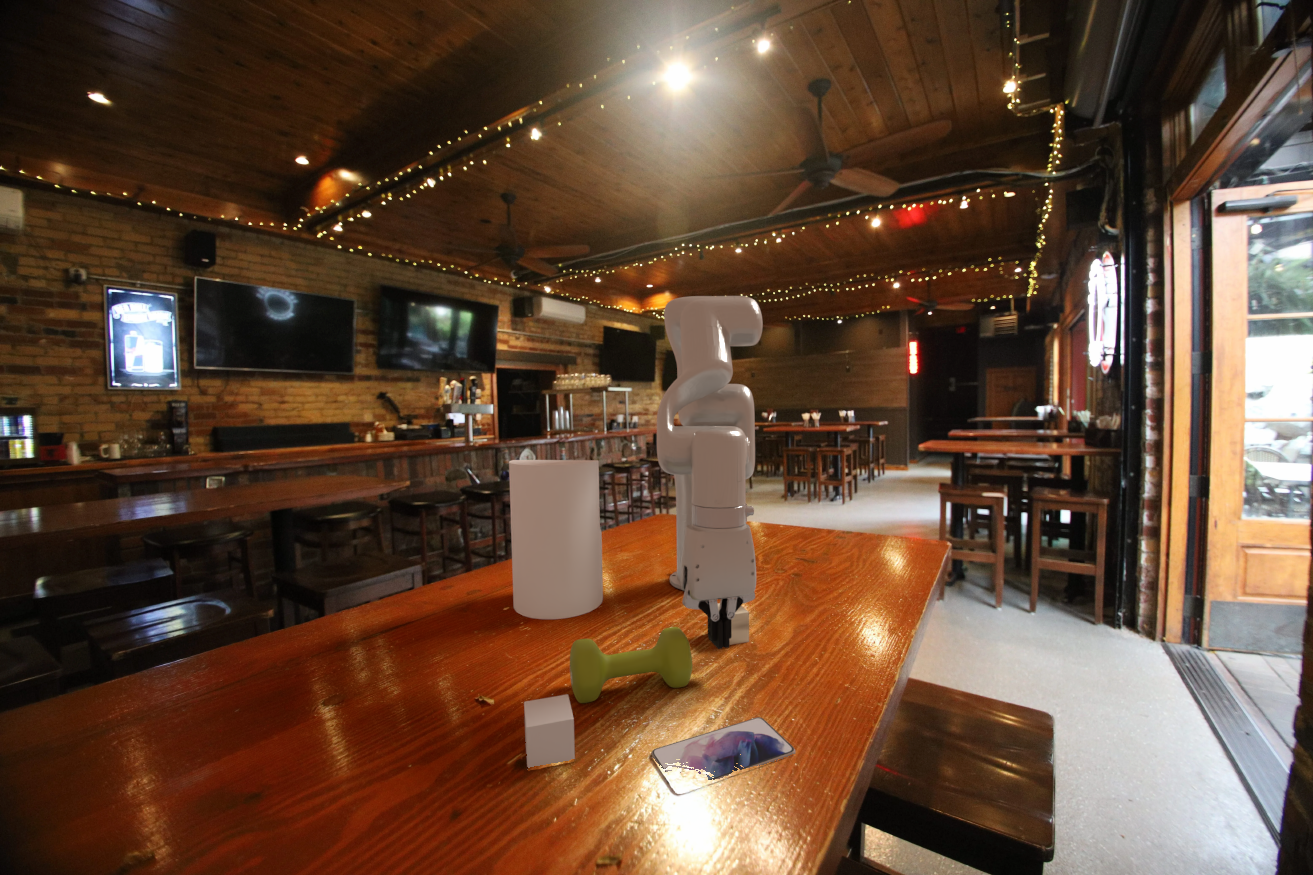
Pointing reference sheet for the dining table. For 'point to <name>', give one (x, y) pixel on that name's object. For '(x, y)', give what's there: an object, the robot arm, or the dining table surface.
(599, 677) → the dumbbell
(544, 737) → the grey block
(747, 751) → the smartphone
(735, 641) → the maple block
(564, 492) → the cylinder
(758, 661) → the dining table surface
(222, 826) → the dining table surface
